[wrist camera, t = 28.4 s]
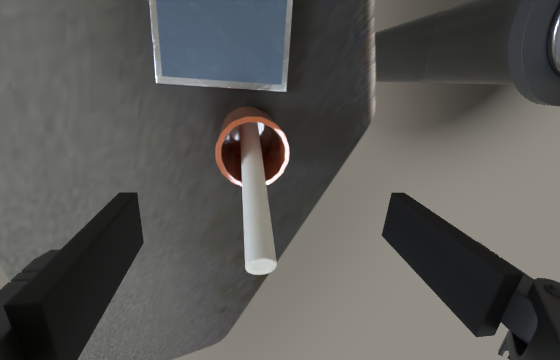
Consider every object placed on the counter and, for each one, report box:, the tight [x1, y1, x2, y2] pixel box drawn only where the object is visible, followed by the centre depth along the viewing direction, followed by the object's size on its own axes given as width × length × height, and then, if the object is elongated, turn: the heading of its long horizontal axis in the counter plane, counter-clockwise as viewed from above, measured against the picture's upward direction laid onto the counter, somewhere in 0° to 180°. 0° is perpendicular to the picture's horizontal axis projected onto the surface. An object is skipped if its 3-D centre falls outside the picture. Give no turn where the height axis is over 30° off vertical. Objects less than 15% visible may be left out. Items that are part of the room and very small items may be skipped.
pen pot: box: [216, 106, 290, 187], centre depth 30 cm, size 7×7×10 cm
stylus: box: [240, 122, 277, 275], centre depth 26 cm, size 2×2×20 cm
